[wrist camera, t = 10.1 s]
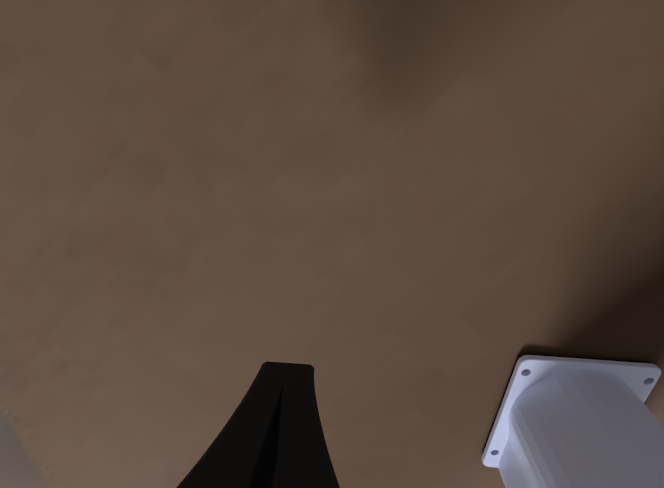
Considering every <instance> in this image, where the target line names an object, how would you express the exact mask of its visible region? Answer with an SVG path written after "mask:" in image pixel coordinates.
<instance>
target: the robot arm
mask: <svg viewBox="0 0 664 488" xmlns="http://www.w3.org/2000/svg"><path fill="white" fill-rule="evenodd" d="M525 369H527V370H525ZM523 370H525V371H523ZM661 373H662V372H661V369H660V368H659V367H658V366H656V365H655V364H650V363H636V362H622V361H607V360H593V359H579V358H565V357H551V356H537V355H524V356H522V357H520V358H519V359H518V361H517V363H516V366H515V369H514V371H513V374H512V377H511V380H510V382H509V385H508V388H507V390H506V393H505V396H504V398H503V401H502V404H501V406H500V409H499V412H498V415H497V417H496V420H495V423H494V425H493V428H492V431H491V433H490V436H489V439H488V441H487V444H486V447H485V449H484V452H483V455H482V462H483V464H484V465H485V466H487V467H498V469H499V472H500V474H501V477H502V480H503V482H504V485H505V488H664V426H663V425H662V424H661V423H660V422H659V421H658V419H657V418H656V417H655V416H654V415H653V414H652V412H651V411H650V410H649V409H648V408H647V407H646V405H645V404H644V402H645V400H646V399H647V397H648V395H649V394H650V392H651V390H652V389H653V387H654V386H655V384H656V382H657V381H658V379H659V377H660V376H661ZM177 488H340V487H339V484H338V481H337V478H336V475H335V472H334V469H333V466H332V463H331V459H330V456H329V453H328V449H327V446H326V442H325V438H324V434H323V430H322V426H321V422H320V418H319V413H318V408H317V401H316V395H315V387H314V368H313V367H312V366H311V365H307V364H293V363H279V362H265V363H264V364H262V366H261V368H260V370H259V372H258V374H257V376H256V378H255V380H254V381H253V383H252V385H251V387H250V388H249V390H248V392H247V393H246V395H245V397H244V398H243V400H242V401H241V403H240V404H239V406H238V407H237V409H236V410H235V412H234V413H233V415H232V416H231V418H230V419H229V421H228V422H227V424H226V425H225V427H224V428H223V429H222V431H221V432H220V434H219V435H218V436H217V438H216V439H215V440H214V442H213V443H212V444H211V445H210V447H209V448H208V449H207V451H206V452H205V453H204V455H203V456H202V457H201V459H200V460H199V461H198V462H197V464H196V465H195V466H194V467H193V469H192V470H191V471H190V472H189V474H188V475H187V476H186V477H185V478H184V479H183V481H182V482H181V483H180V484H179V485H178V486H177Z"/></svg>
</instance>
